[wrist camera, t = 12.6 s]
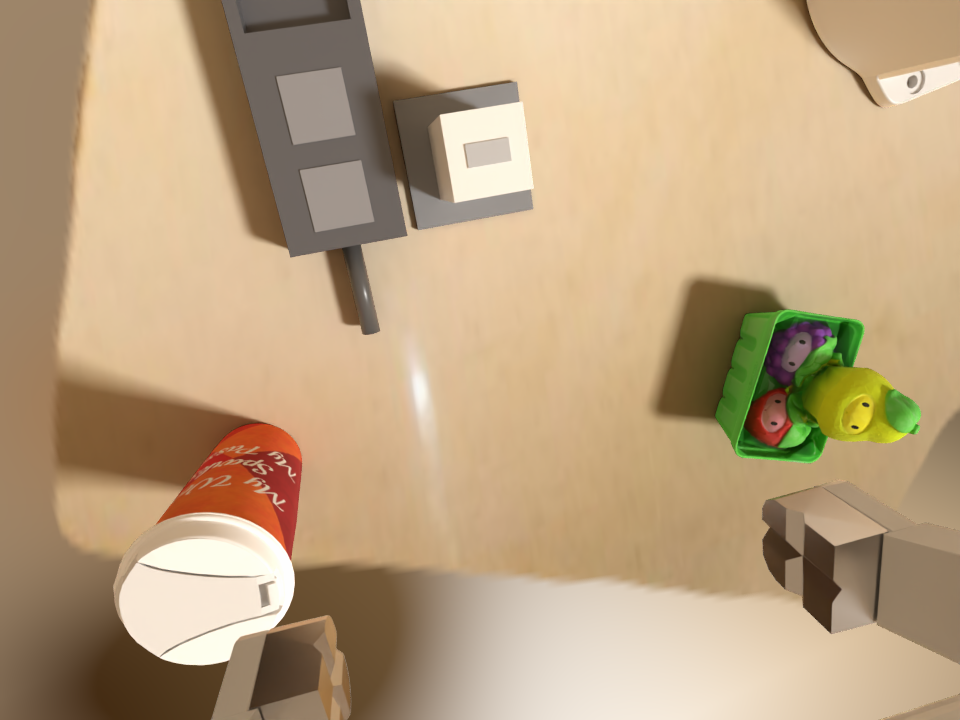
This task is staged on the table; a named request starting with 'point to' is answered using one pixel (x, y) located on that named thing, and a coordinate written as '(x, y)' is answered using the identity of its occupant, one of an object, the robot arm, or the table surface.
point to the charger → (481, 152)
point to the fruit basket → (806, 389)
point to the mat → (420, 163)
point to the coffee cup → (217, 552)
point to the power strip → (320, 128)
